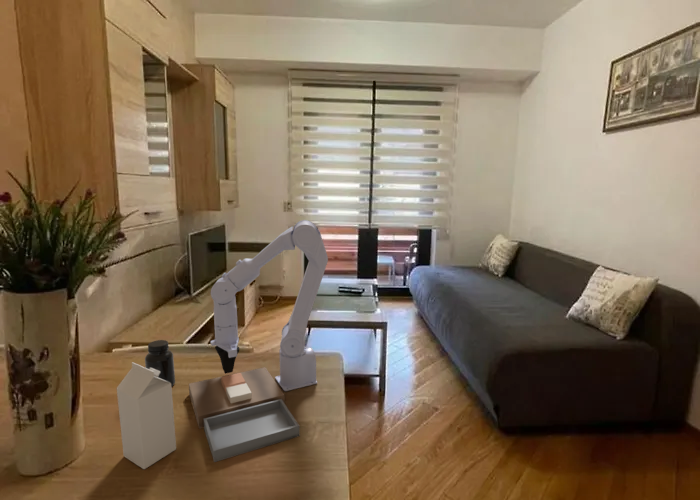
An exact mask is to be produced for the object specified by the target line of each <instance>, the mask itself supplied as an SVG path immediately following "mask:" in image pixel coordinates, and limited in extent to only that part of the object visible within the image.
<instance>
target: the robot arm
mask: <svg viewBox="0 0 700 500" xmlns="http://www.w3.org/2000/svg"><path fill="white" fill-rule="evenodd" d="M296 248H297V249H299V250H300V251H301V252H303V253H304V255H305V257H306V258H307V260H308V263H307V266H306V269H305V272H304V274H303V278H302V282H301V285H300V288H299V290H298V293H297V297H296V300H295V303H294V306H293V309H292V313H291V315H290V316H289V319H288V322H286V324H285V325H284V326H283V328H282V329H281V339H280V343H279V350H278V351H279V375H277V376H274V378H275V379H274V380H275V381H276V383H277V384H278V386H279V387H280V389H281V388H282V389H281V390H283V391H284V392H288V391H292V390H296V389H300V388H304V387H308V386H312V385H317V384H318V381H317V357H316V354H315V351H314V349H313V347H306V346H305V345H306V344H305V336H306V332H307V327H308V322H309V318H310V316H311V313H312V309H313V307H314V303H315V300H316V298H317V295H318V292H319V289H320V286H321V283H322V279H323V277H324V273H325V271H326V268H327V265H328V263H329V262H328V261H329V256H328V253H327V250H326V247H325V244H324V240H323V238H322V234H321V231H320V230H319V228H317V226H316V225H315V224H314V223H313V222H312V221H311V220H307V219H302V220H299V221H298V222H296V223H295V225H294V226H293V225H292V226H291V227H289V228H287V229H285V231H283V232H281V233H280V234H279V235H278V236H277V237H275V238H274V239H273V240H272V241H271V242H270V243H268V245H266V246H265V247H264V248H263V249H261V251H259V253H257V254H256V255H255V256H254V257H253V258H249V257H248V258H243V259H238V260H237V261H236V262H235V266H234V267H233V268H231V269H230V270H229V271H228V272H224V273H223V274H222V275H221V277H220V278H218V279H217V281H216V282H215V283H214V284H213V285H212V287H211V290H210V297H211V299H212V301H213V320H214V339H213V340H210V345H211V346H212V347H214V349H215V351H216V353H217V354H218V356H219V359H220V363H221V367H222V370H223V373H224V374H226V375H227V374H230V373H233V372H234V368H235V363H236V359H237V357H238V354H239V353H240V347H239V345H238V344H239V342H240V338H239V335H238V334H239V332H238V329H239V328H238V311H237V310H238V308H237V302H236V301H237V299H236V294H237V292H241V291H242V290H244V289H245V288H247V286H249V284H251V283H252V282H254V280H256V279H257V278H258V277H259V276H260V275H261V268H263V267H264V266H265V265H266V264H268V263H269V262H271V261H272V260H273V259H274V258H275V257H277V256H278V255H280V254H281V253H282V252H283V251H294V250H296Z"/></svg>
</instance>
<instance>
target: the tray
mask: <svg viewBox="0 0 700 500" xmlns="http://www.w3.org/2000/svg"><path fill="white" fill-rule="evenodd" d="M203 429H204V433H205V437H206V440H207V443H208V445H209V446H208V447H209V450H210V452H211V456H212V459H213V463H216V462H220V461H222V460H226V459H229V458H232V457H236V456H238V455H243V454H246V453H249V452H252V451H255V450H258V449H262V448H266V447H268V446H271V445H275V444H278V443H281V442H285V441H289V440H291V439H295V438H298V437H300V434H301V433H300V424H299V423H298V422H297V420H296V418H295V417H294V415H293V414H292V412H291V411H290V410H289V408H288V406H287V405H286V404H284V402H283V401H282V399H279V400H275V401H271V402H267V403H263V404H259V405H255V406H252V407H248V408H244V409H240V410H236V411H232V412H228V413H224V414H220V415H216V416H212V417H209V418H205V419H204V427H203Z"/></svg>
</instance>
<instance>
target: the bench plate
mask: <svg viewBox="0 0 700 500" xmlns="http://www.w3.org/2000/svg"><path fill="white" fill-rule="evenodd" d="M237 373H238V372H237ZM237 373H235V374H237ZM240 373H241V374H242V376H243V378H244V380H245V383H247V385H248V387H249V389H250V391H251V392H252V398H251V399H247V400H243V401H239V402H235V403H230V401H229V399H228V396H227V394H226V391H225V390H224V387H223V385H222V383H221V377H223V376H224V375H223V376H217V377H214V378H209V379H205V380H199V381H194V382H190V383H188V391H189V393H188V394H189V398H190V401H191V405H192V408H193V412H194V416H195V420H196V423H197V426H198V429H204V419H205V418H209V417H212V416H216V415H220V414H224V413H228V412H232V411H236V410H240V409H244V408H248V407H252V406H255V405H259V404H263V403H267V402H271V401H275V400H279V399H282V401H283V402H284V404H285V403H286V402H285V401H286V400H285V394H284V392H283V391H282V390H283V389H281V387H280V385H279V384H278V382H277V381H276V379H274V378H273V376H272V375H271V373H270V371H269V370H268V369H267V367H265V366H264V367H261V368H255V369H251V370H246V371H240ZM232 374H233V373H232ZM232 374H230V375H232ZM228 375H229V374H226V376H228ZM285 405H286V404H285Z"/></svg>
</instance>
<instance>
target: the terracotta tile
mask: <svg viewBox="0 0 700 500" xmlns="http://www.w3.org/2000/svg"><path fill="white" fill-rule="evenodd" d="M227 375H228V376H227ZM227 375H223V377H222V376H220V377H221V383H222V385H223V387H224V390H225V391H226V388H227V387H232V386H236V385H240V384H245V380H244V378H243V376H242V374H241V372H237V374H236V373H232V375H231V374H227Z"/></svg>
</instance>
